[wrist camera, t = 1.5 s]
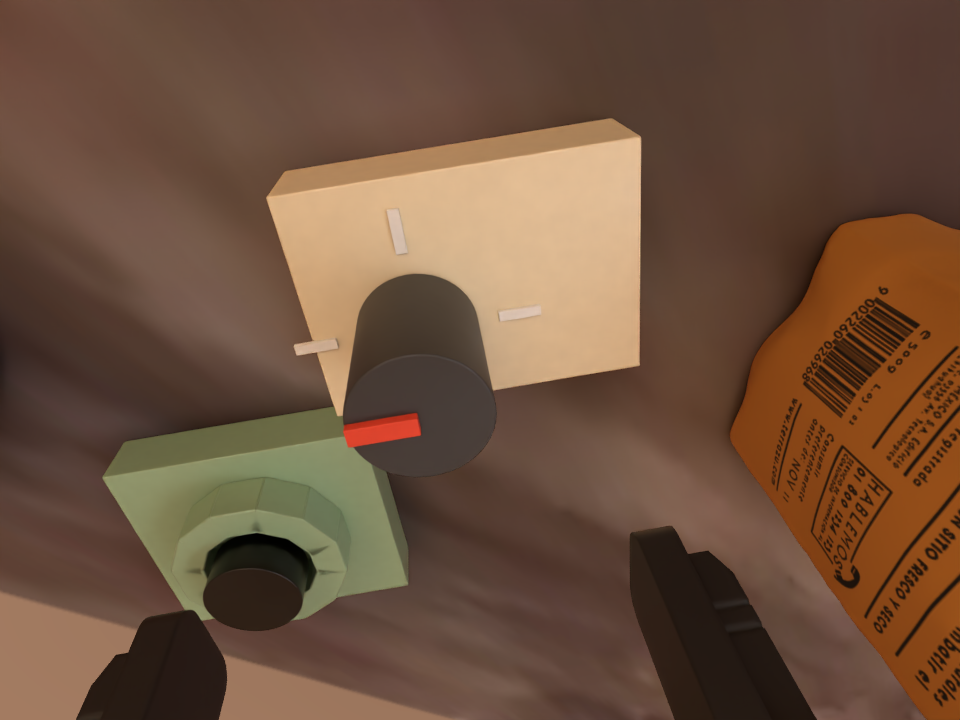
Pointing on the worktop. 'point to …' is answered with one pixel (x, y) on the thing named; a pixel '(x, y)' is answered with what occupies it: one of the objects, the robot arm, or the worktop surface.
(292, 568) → the button
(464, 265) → the panel
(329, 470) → the button box
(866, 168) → the worktop surface
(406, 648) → the worktop surface
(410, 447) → the dial
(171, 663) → the robot arm
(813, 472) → the coffee package
